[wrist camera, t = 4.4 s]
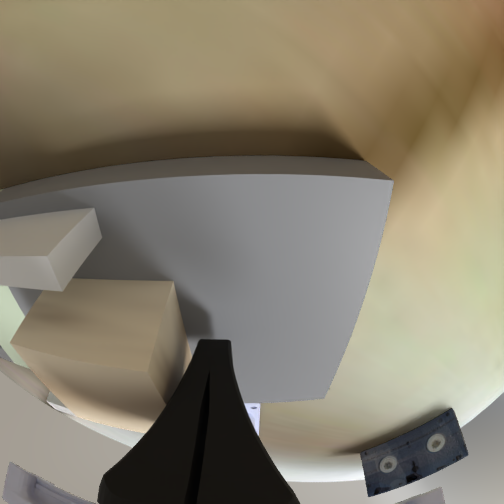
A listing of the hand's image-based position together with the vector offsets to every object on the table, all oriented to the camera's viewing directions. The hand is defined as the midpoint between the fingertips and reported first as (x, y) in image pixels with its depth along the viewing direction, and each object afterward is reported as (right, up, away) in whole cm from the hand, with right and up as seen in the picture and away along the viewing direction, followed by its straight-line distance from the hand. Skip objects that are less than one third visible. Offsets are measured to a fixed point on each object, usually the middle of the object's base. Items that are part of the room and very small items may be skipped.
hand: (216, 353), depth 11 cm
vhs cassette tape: (+28, -27, +23) cm, 45 cm away
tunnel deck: (-12, +2, +3) cm, 12 cm away
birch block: (-4, +1, +1) cm, 5 cm away
